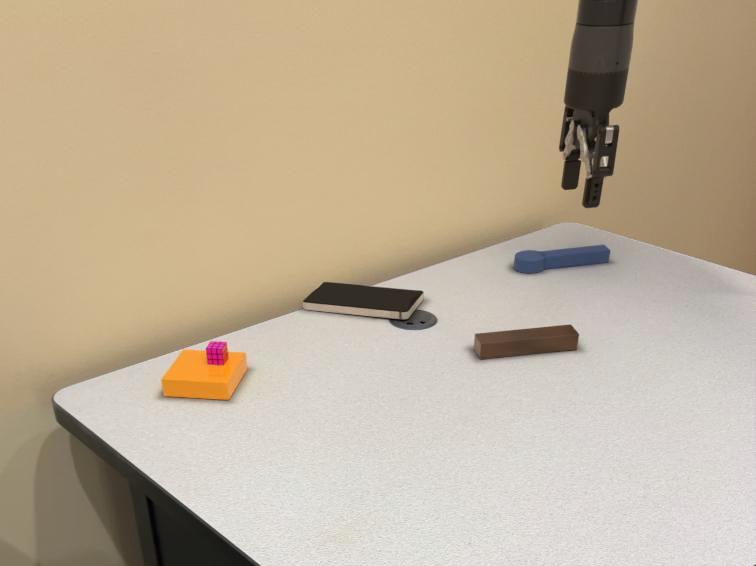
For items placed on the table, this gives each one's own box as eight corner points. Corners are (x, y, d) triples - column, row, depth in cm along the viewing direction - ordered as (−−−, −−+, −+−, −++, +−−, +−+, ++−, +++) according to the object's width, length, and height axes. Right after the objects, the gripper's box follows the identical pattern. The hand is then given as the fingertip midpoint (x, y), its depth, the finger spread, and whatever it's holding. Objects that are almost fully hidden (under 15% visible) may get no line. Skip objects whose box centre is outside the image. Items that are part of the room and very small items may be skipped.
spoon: (599, 254, 132) (601, 242, 130) (611, 264, 128) (613, 252, 127) (509, 264, 131) (510, 251, 129) (519, 274, 127) (520, 262, 126)
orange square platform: (228, 400, 103) (224, 366, 100) (163, 396, 104) (157, 362, 102) (247, 369, 109) (244, 336, 106) (185, 366, 110) (180, 333, 107)
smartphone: (323, 280, 127) (425, 290, 122) (323, 289, 127) (424, 298, 122) (301, 302, 121) (406, 312, 116) (301, 310, 122) (406, 321, 117)
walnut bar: (568, 339, 110) (571, 324, 109) (577, 349, 108) (579, 334, 107) (473, 349, 110) (474, 333, 108) (479, 359, 107) (481, 343, 106)
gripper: (650, 72, 108) (625, 211, 119) (606, 51, 119) (587, 181, 130) (589, 76, 108) (570, 216, 118) (552, 56, 119) (537, 185, 129)
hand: (579, 197), depth 124 cm, fingers open, 8 cm apart
